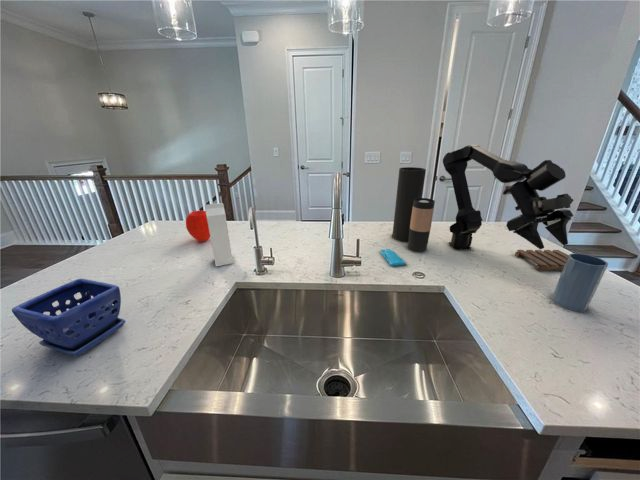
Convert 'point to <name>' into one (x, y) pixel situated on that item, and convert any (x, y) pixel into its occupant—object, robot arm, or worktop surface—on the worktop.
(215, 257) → the milk
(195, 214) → the apple
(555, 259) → the drying rack
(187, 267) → the worktop surface
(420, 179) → the vase
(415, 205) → the travel mug
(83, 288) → the flower pot
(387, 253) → the sponge
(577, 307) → the tumbler
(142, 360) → the worktop surface
